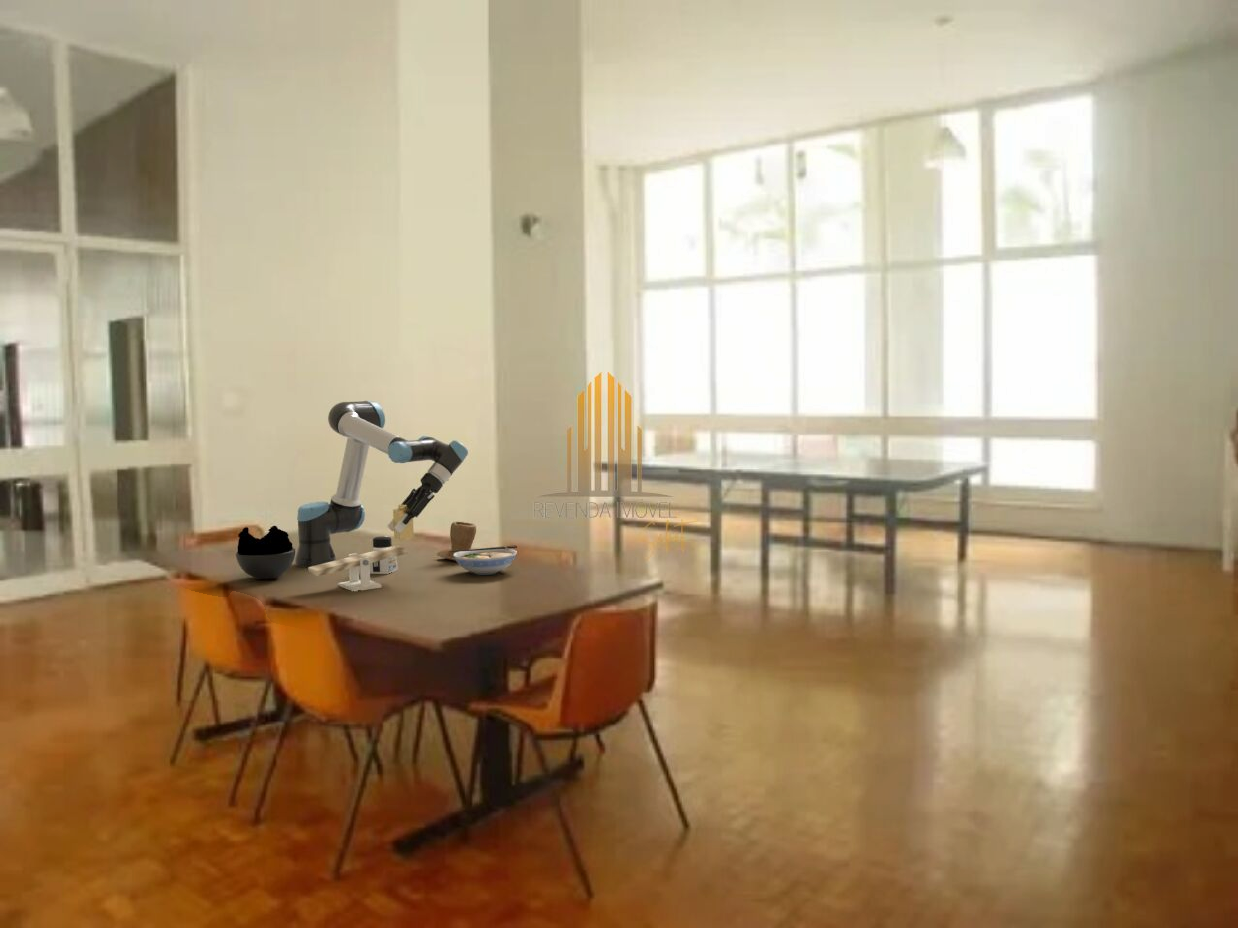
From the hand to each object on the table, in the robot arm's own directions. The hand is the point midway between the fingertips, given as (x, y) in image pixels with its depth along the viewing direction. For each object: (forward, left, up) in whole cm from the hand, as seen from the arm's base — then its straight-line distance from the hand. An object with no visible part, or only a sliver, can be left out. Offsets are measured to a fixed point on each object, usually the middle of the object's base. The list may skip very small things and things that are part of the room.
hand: (393, 529), depth 343 cm
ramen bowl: (+7, +31, -18) cm, 37 cm away
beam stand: (-1, -13, -18) cm, 22 cm away
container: (-21, +4, -18) cm, 28 cm away
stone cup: (-25, +37, -18) cm, 49 cm away
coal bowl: (-37, -33, -18) cm, 52 cm away
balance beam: (-1, -13, -9) cm, 16 cm away
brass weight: (0, +4, -3) cm, 5 cm away
